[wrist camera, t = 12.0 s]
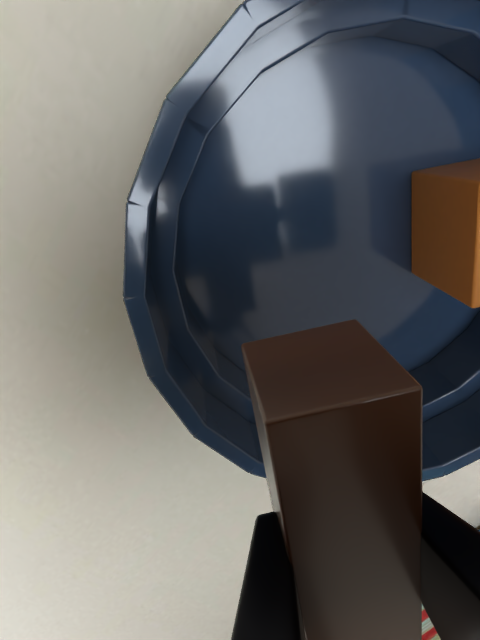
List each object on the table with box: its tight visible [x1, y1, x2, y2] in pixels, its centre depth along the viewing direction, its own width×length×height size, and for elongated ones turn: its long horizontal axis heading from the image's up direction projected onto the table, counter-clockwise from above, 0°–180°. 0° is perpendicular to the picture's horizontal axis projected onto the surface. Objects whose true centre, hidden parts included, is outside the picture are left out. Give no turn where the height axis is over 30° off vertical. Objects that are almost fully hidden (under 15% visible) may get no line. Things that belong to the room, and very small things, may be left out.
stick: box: [241, 319, 423, 640], centre depth 8 cm, size 7×2×2 cm, turn 10°
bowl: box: [123, 0, 480, 481], centre depth 15 cm, size 16×16×5 cm
